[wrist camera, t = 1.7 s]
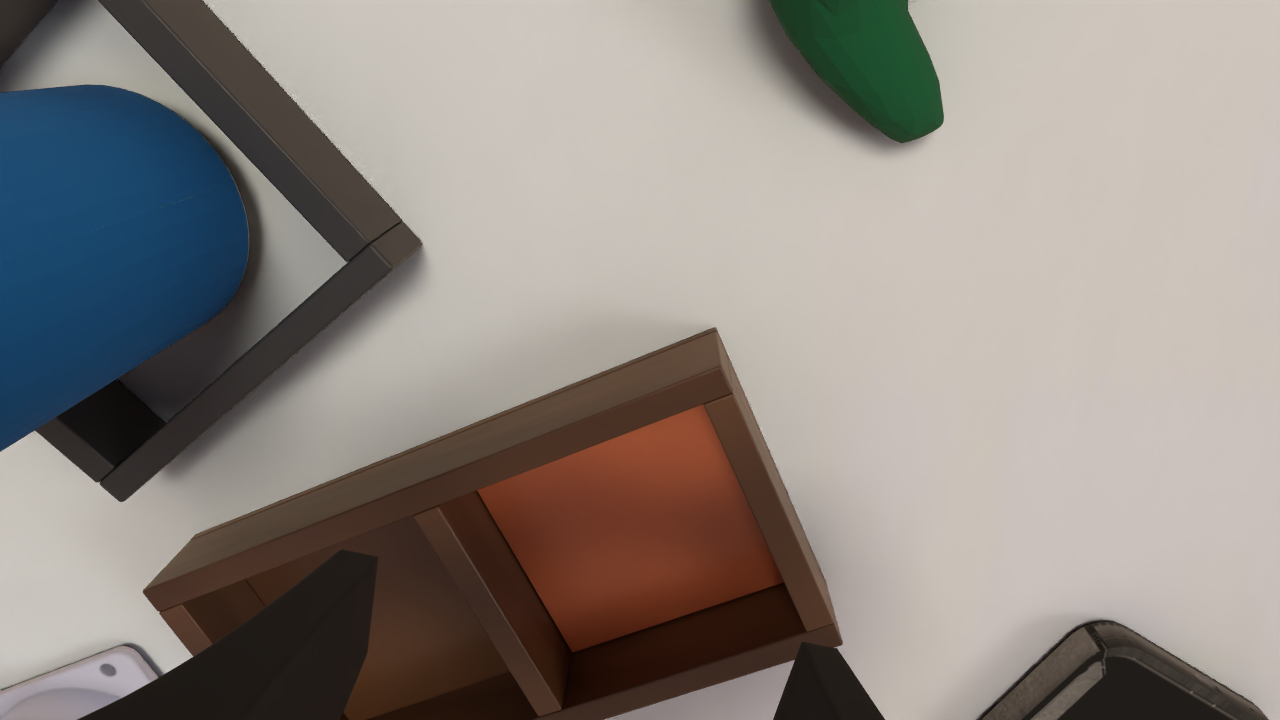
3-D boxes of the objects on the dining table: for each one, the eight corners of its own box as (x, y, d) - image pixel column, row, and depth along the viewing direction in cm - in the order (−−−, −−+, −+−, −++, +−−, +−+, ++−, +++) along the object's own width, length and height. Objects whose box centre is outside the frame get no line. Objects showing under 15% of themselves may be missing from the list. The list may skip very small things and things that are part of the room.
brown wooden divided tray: (826, 582, 25) (843, 645, 23) (347, 739, 28) (315, 810, 26) (715, 326, 22) (721, 365, 20) (194, 534, 25) (140, 591, 23)
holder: (172, 459, 24) (120, 504, 22) (-142, 179, 22) (-240, 197, 19) (423, 243, 22) (394, 268, 19) (101, -111, 19) (21, -131, 16)
